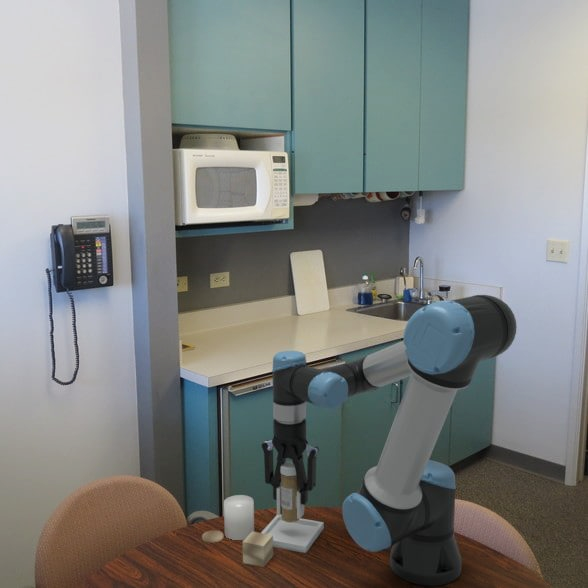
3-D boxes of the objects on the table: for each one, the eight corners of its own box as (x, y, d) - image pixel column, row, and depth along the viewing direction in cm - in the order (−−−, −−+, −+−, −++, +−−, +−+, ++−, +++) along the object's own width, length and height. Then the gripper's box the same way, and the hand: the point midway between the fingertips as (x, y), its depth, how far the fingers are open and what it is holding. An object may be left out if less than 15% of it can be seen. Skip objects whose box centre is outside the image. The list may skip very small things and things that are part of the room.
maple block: (273, 556, 154) (272, 535, 153) (263, 567, 149) (263, 546, 149) (252, 552, 156) (252, 531, 155) (243, 563, 151) (242, 541, 151)
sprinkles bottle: (304, 519, 161) (303, 465, 159) (287, 525, 159) (287, 469, 157) (293, 512, 165) (292, 458, 163) (277, 517, 163) (276, 463, 161)
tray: (323, 528, 166) (323, 522, 166) (305, 553, 155) (305, 546, 155) (277, 520, 170) (277, 514, 170) (257, 543, 159) (257, 537, 159)
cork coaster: (223, 533, 165) (223, 529, 165) (223, 543, 160) (223, 540, 160) (202, 534, 165) (202, 530, 165) (201, 544, 160) (201, 541, 160)
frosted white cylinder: (246, 542, 160) (245, 510, 158) (219, 537, 162) (218, 505, 161) (261, 526, 167) (260, 495, 166) (235, 521, 170) (234, 491, 169)
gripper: (331, 418, 158) (330, 513, 162) (261, 409, 165) (263, 501, 168) (320, 428, 151) (320, 528, 155) (248, 419, 158) (250, 515, 162)
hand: (290, 514), depth 162 cm, fingers closed on sprinkles bottle, 4 cm apart
